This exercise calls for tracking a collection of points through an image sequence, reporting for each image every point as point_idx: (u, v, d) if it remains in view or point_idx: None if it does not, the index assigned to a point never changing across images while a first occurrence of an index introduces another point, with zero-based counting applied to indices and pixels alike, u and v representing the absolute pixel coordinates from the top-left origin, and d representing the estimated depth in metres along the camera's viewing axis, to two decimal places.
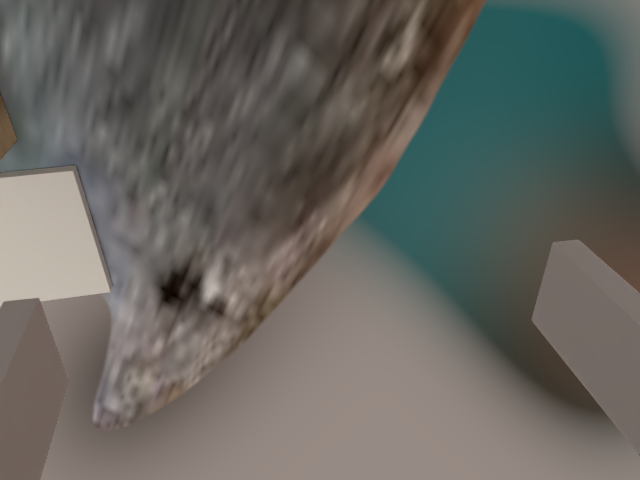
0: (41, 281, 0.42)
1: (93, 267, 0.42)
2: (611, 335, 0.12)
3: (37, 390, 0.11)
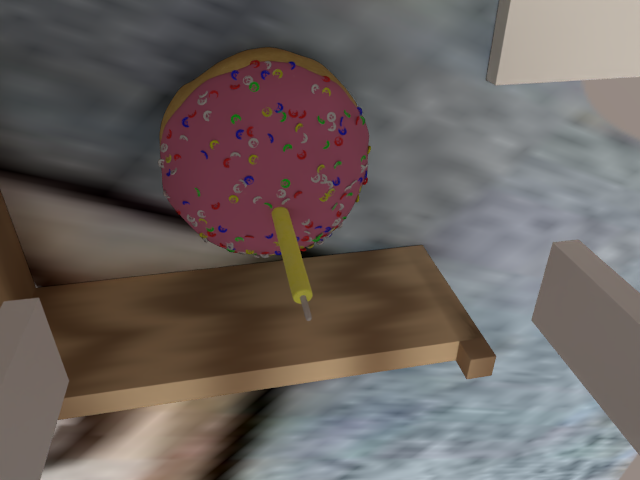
0: None
1: None
2: (611, 335, 0.12)
3: (37, 390, 0.11)
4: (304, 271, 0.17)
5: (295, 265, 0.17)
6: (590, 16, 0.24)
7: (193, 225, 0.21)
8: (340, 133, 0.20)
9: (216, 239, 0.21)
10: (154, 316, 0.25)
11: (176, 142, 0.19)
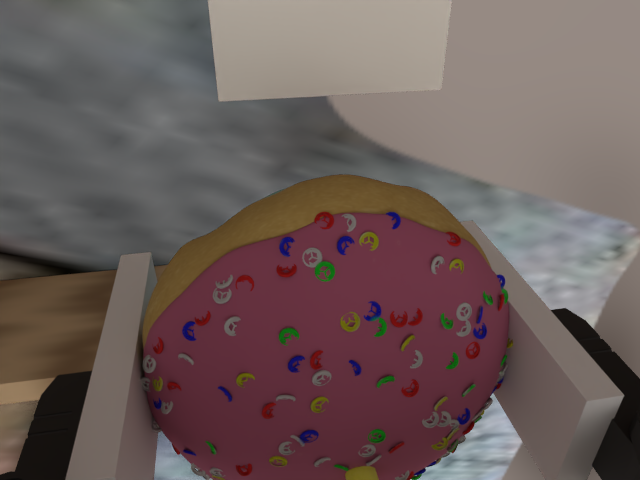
0: None
1: None
2: None
3: None
4: None
5: None
6: (306, 32, 0.24)
7: None
8: (477, 336, 0.11)
9: None
10: None
11: (172, 361, 0.10)
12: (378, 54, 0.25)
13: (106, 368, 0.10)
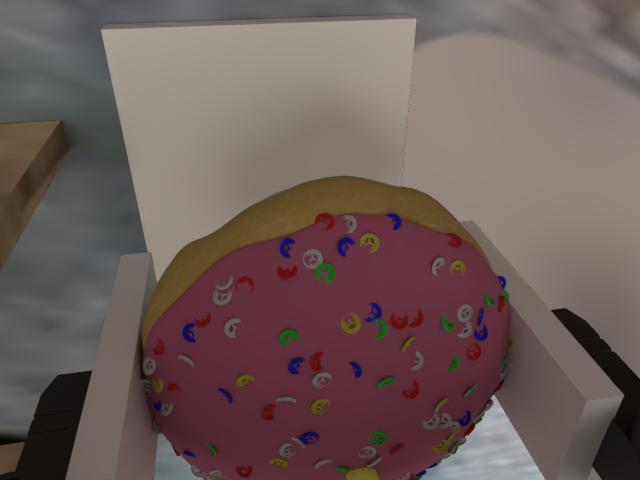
0: (360, 147, 0.21)
1: (346, 41, 0.19)
2: None
3: None
4: None
5: None
6: None
7: None
8: (477, 337, 0.10)
9: None
10: None
11: (172, 363, 0.10)
12: None
13: (106, 368, 0.10)
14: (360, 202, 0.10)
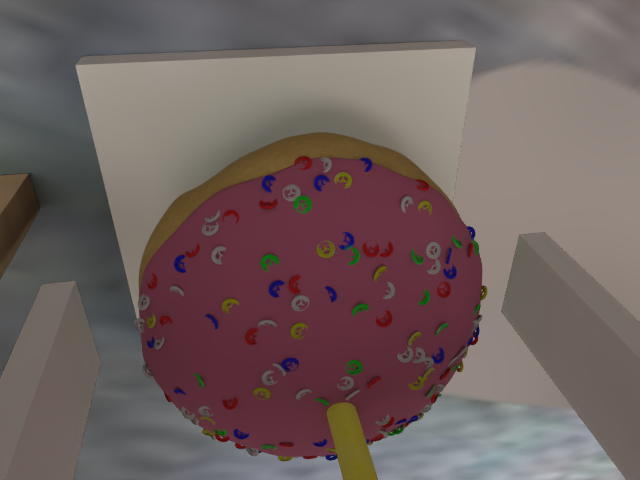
0: None
1: (387, 76, 0.15)
2: (571, 324, 0.12)
3: (75, 368, 0.12)
4: None
5: None
6: None
7: (192, 421, 0.12)
8: (446, 276, 0.11)
9: (230, 440, 0.13)
10: None
11: (164, 296, 0.11)
12: None
13: None
14: (336, 149, 0.11)
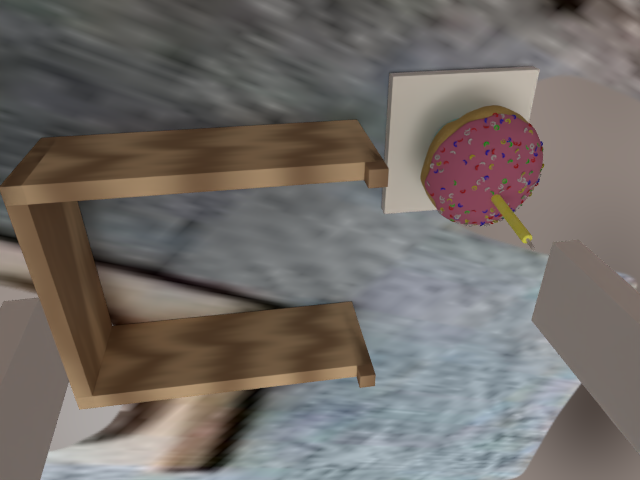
0: None
1: (504, 80, 0.38)
2: (611, 335, 0.12)
3: (37, 390, 0.11)
4: (524, 227, 0.32)
5: (519, 223, 0.33)
6: None
7: (440, 202, 0.36)
8: (534, 155, 0.35)
9: (450, 212, 0.36)
10: (182, 345, 0.43)
11: (447, 154, 0.34)
12: None
13: None
14: (503, 111, 0.34)
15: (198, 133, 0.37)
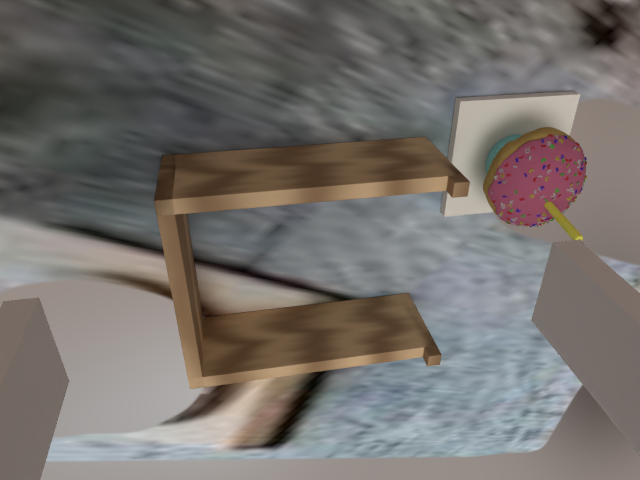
0: None
1: (550, 103, 0.45)
2: (611, 335, 0.12)
3: (37, 390, 0.11)
4: None
5: (572, 226, 0.40)
6: None
7: (501, 208, 0.43)
8: (580, 169, 0.42)
9: (508, 215, 0.43)
10: (269, 333, 0.50)
11: (509, 168, 0.41)
12: None
13: None
14: (556, 132, 0.41)
15: (296, 150, 0.43)
